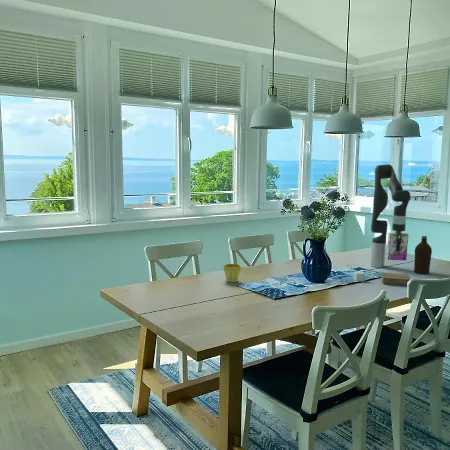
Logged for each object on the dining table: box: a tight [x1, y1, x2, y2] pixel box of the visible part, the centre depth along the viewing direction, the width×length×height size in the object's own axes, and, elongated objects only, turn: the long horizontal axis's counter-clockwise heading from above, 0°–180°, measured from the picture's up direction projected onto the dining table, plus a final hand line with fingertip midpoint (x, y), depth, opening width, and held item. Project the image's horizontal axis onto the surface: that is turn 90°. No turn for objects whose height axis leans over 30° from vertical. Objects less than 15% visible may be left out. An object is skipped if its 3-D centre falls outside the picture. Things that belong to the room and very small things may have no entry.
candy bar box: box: [385, 232, 409, 261], centre depth 287 cm, size 11×5×16 cm, turn 84°
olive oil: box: [413, 235, 433, 275], centre depth 315 cm, size 11×11×25 cm
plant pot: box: [223, 263, 242, 283], centre depth 286 cm, size 10×10×10 cm
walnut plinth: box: [380, 272, 412, 287], centre depth 290 cm, size 14×16×4 cm
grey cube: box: [353, 271, 366, 282], centre depth 293 cm, size 5×5×5 cm
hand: (397, 250), depth 287 cm, fingers closed on candy bar box, 5 cm apart
